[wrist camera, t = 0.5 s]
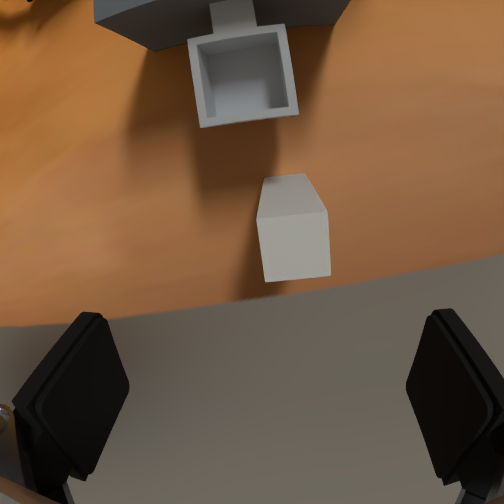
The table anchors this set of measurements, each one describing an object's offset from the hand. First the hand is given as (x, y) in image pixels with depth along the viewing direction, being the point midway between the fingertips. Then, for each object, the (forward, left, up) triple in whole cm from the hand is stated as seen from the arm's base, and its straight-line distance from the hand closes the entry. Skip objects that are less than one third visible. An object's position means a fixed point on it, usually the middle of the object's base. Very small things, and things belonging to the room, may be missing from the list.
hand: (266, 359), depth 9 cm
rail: (-1, +1, -24) cm, 24 cm away
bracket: (+1, -14, -24) cm, 28 cm away
